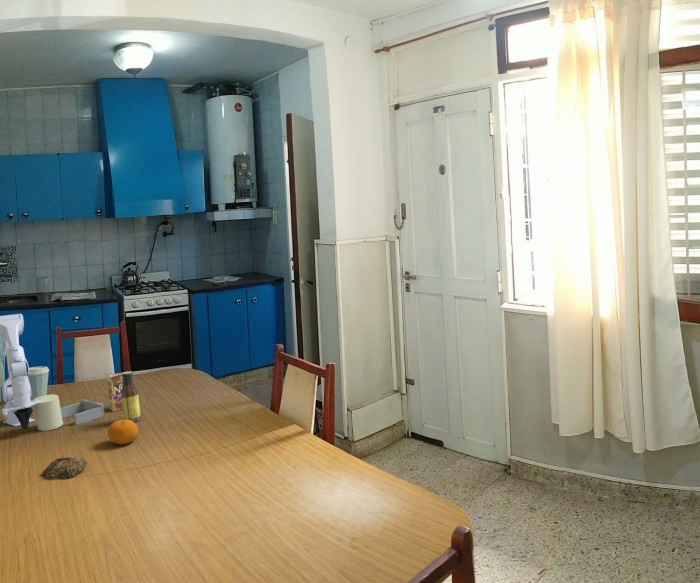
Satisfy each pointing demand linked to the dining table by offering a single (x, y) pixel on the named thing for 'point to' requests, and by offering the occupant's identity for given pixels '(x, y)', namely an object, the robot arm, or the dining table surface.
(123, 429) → the fruit
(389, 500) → the dining table surface
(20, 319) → the robot arm
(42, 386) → the disposable coffee cup
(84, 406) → the box
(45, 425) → the can
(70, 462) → the rough brown rock
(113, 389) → the candy box
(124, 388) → the sauce bottle
